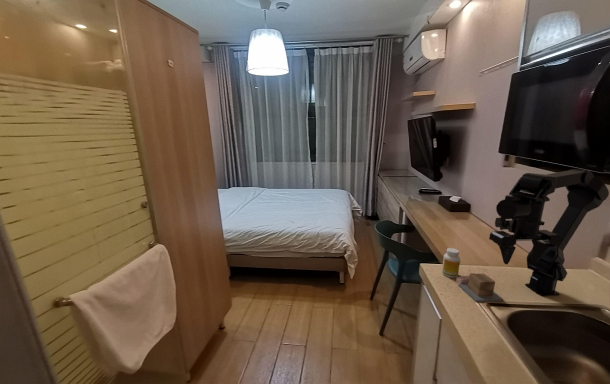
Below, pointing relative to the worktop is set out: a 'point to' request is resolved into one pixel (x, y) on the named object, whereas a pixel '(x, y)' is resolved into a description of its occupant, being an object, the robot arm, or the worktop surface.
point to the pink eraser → (463, 280)
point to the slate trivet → (479, 298)
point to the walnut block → (481, 284)
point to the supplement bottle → (451, 263)
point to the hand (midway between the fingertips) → (519, 263)
